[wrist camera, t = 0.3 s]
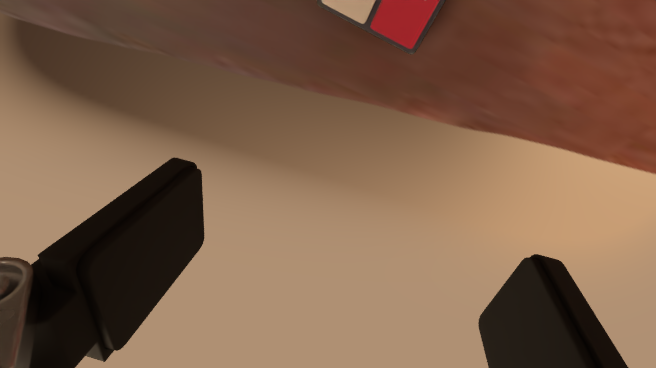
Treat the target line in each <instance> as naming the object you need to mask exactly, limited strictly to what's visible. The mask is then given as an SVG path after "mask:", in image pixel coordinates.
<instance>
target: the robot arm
mask: <svg viewBox="0 0 656 368" xmlns="http://www.w3.org/2000/svg"><path fill="white" fill-rule="evenodd" d="M203 220H204V219H203V195H202V174H201V171H200V170H199V169H197V166H196V164H195V163H193V162H190V161H186V160H182V159H179V158H172V159H170V160H169V161H167V162H166V163H165V164H163V165H162V166H161V167H159V168H158V169H156V170H155V171H153V172H152V173H151V174H149V175H148V176H146V177H145V178H144V179H142V180H141V181H140V182H138V183H137V184H135V185H134V186H133V187H131V188H130V189H128V190H127V191H126V192H124V193H123V194H122V195H120V196H119V197H117V198H116V199H115V200H113V201H112V202H110V203H109V204H108V205H106V206H105V207H104V208H102V209H101V210H99V211H98V212H97V213H95V214H94V215H92V216H91V217H90V218H88V219H87V220H86V221H84V222H83V223H81V224H80V225H79V226H77V227H76V228H74V229H73V230H72V231H70V232H69V233H68V234H66V235H65V236H63V237H62V238H60V239H59V240H58V241H56V242H55V243H53V244H52V245H51V246H49V247H48V248H47V249H45V250H44V251H42V252H41V253H40V254H39V255H38V257H39V259H38V260H37V261H36V262H34V263H33V264H31V265H30V264H29V263H28V262H27V261H24V260H22V259H19V258H11V257H3V258H0V368H75V367H76V366H77V365H78V363H79V362H80V361H81V360H82V359H83V358H84V356H88V357H91V358H94V359H97V360H101V361H104V362H105V361H106V360H107V358H108V357H109V356H110V355H111V353H112V352H113V351H114V350H120V349H121V348H122V347H123V346H124V345H125V344H126V343H127V342H128V340H129V339H130V338H131V337H132V335H133V334H134V333H135V331H136V330H137V329H138V328H139V326H140V325H141V324H142V322H143V321H144V320H145V319H146V317H147V316H148V315H149V314H150V312H151V311H152V310H153V308H154V307H155V306H156V305H157V303H158V302H159V301H160V299H161V298H162V297H163V296H164V294H165V293H166V292H167V290H168V289H169V288H170V286H171V285H172V284H173V283H174V281H175V280H176V279H177V278H178V276H179V275H180V274H181V272H182V271H183V270H184V269H185V267H186V266H187V265H188V263H189V262H190V261H191V260H192V258H193V257H194V255H195V254H196V253H197V252H198V251H199V249H200V248H201V246H202V244H203V241H204V221H203ZM479 330H480V334H481V338H482V342H483V346H484V350H485V354H486V358H487V362H488V366H489V368H628V367H627V365H626V364H625V362H624V360H623V359H622V357H621V356H620V354H619V352H618V351H617V349H616V347H615V346H614V344H613V343H612V341H611V339H610V338H609V336H608V335H607V333H606V332H605V330H604V328H603V327H602V325H601V323H600V322H599V320H598V319H597V317H596V316H595V314H594V312H593V311H592V309H591V308H590V306H589V304H588V303H587V301H586V299H585V298H584V296H583V295H582V293H581V291H580V290H579V288H578V287H577V285H576V283H575V282H574V280H573V279H572V277H571V276H570V274H569V272H568V271H567V269H566V267H565V266H564V264H563V263H562V262H561V261H559V260H556V259H553V258H549V257H545V256H542V255H538V254H534V255H532V256H531V257H530V258H524V259H523V260H522V261H521V263H520V264H519V266H518V267H517V268H516V269H515V271H514V272H513V273H512V275H511V276H510V277H509V279H508V280H507V281H506V283H505V284H504V285H503V286H502V288H501V289H500V291H499V292H498V293H497V294H496V296H495V297H494V298H493V300H492V301H491V302H490V303H489V305H488V306H487V307H486V309H485V310H484V311H483V313H482V314H481V316H480V318H479Z"/></svg>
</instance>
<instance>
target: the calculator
mask: <svg viewBox="0 0 656 368" xmlns="http://www.w3.org/2000/svg"><path fill="white" fill-rule="evenodd" d="M444 2H445V0H317V4H318V6H319V7H321V8H323V9H325V10H327V11H329V12H331V13H332V14H334V15H336V16H338V17H340V18H342V19H344V20H346V21H348V22H350V23H351V24H353V25H355V26H357V27H359V28H361V29H363V30H365V31H367V32H368V33H370V34H372V35H374V36H376V37H378V38H380V39H382V40H384V41H386V42H387V43H389V44H391V45H393V46H395V47H397V48H399V49H401V50H403V51H404V52H406V53H408V54H414V53H415V52H416V50H417V49H418V47H419V45H420V44H421V42H422V40H423V38H424V37H425V35H426V33H427V31H428V30H429V28H430V26H431V25H432V23H433V21H434V19H435V18H436V16H437V14H438V12H439V11H440V9H441V7H442V5H443V4H444Z"/></svg>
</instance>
